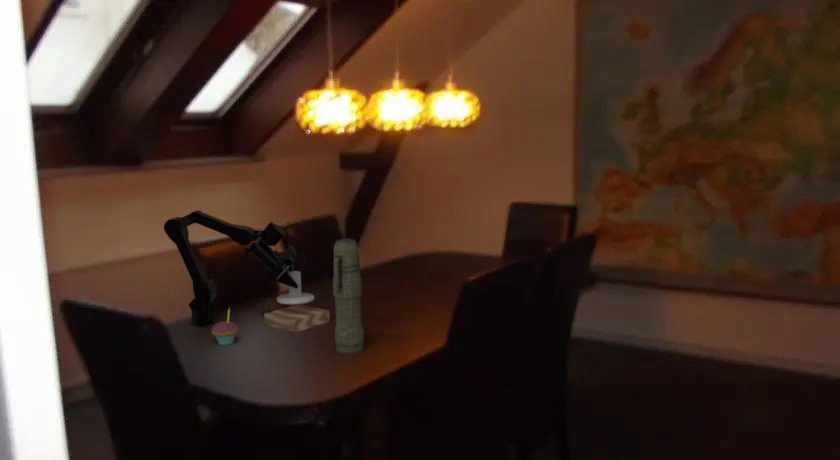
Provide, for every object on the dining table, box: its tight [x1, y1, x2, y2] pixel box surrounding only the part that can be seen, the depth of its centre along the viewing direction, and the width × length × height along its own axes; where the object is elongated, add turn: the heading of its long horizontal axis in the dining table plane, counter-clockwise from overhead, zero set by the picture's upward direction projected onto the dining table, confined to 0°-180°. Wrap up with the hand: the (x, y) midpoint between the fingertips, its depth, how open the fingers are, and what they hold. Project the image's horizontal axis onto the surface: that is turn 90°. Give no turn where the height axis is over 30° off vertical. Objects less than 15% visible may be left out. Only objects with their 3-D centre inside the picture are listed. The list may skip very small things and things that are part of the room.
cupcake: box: [211, 307, 240, 346], centre depth 241 cm, size 9×8×12 cm
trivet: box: [263, 304, 330, 333], centre depth 262 cm, size 16×16×4 cm
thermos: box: [332, 238, 365, 355], centre depth 230 cm, size 9×12×35 cm
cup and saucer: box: [261, 295, 291, 315], centre depth 275 cm, size 12×12×6 cm
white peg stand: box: [277, 270, 315, 306], centre depth 261 cm, size 13×13×10 cm
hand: (298, 285), depth 261 cm, fingers closed on white peg stand, 4 cm apart
